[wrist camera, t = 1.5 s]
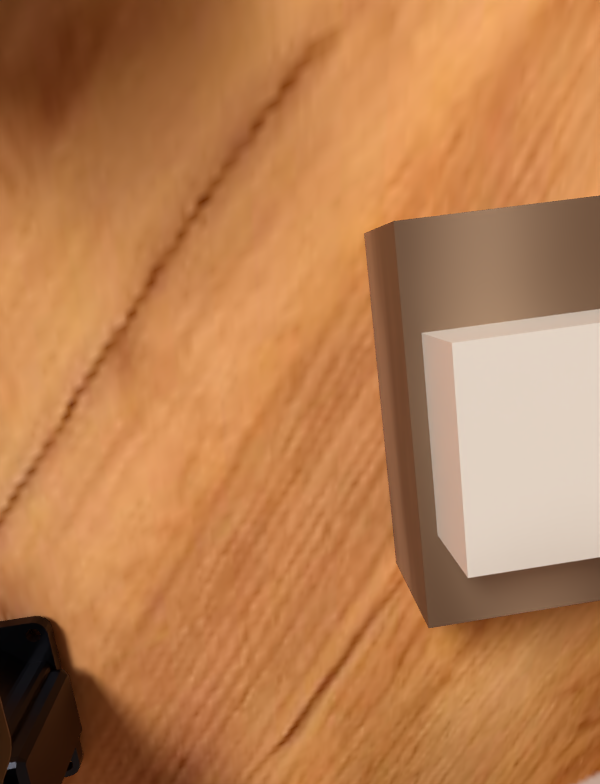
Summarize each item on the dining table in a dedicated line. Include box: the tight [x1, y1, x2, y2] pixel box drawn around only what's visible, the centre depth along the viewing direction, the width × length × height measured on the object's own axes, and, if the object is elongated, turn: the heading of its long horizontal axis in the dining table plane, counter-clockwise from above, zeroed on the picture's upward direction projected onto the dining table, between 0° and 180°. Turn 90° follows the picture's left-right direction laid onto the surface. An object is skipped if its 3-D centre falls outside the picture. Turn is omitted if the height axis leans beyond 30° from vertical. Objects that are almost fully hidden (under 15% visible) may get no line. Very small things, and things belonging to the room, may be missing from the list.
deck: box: [364, 196, 600, 628], centre depth 18 cm, size 12×12×4 cm
